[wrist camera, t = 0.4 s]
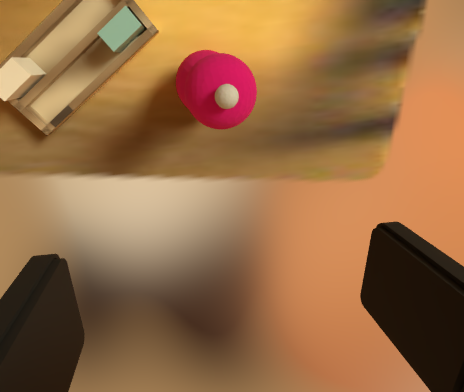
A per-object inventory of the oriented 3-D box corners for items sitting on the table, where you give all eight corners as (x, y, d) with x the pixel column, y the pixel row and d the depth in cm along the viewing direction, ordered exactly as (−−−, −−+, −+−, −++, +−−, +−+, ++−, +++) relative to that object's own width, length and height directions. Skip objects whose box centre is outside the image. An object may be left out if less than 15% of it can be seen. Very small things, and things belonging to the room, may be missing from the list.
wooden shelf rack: (-5, 79, 37) (-17, 80, 34) (106, -33, 34) (101, -40, 32) (54, 131, 40) (46, 135, 38) (158, 32, 38) (157, 30, 35)
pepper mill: (233, 108, 43) (278, 141, 24) (179, 113, 42) (184, 152, 23) (229, 49, 40) (276, 38, 22) (171, 53, 39) (170, 45, 21)
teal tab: (105, 36, 36) (97, 33, 32) (131, 11, 35) (125, 5, 31) (120, 53, 37) (113, 51, 33) (145, 29, 36) (141, 24, 32)
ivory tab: (5, 81, 36) (-16, 84, 32) (29, 57, 36) (11, 57, 32) (22, 97, 37) (4, 101, 33) (46, 74, 36) (30, 75, 32)
